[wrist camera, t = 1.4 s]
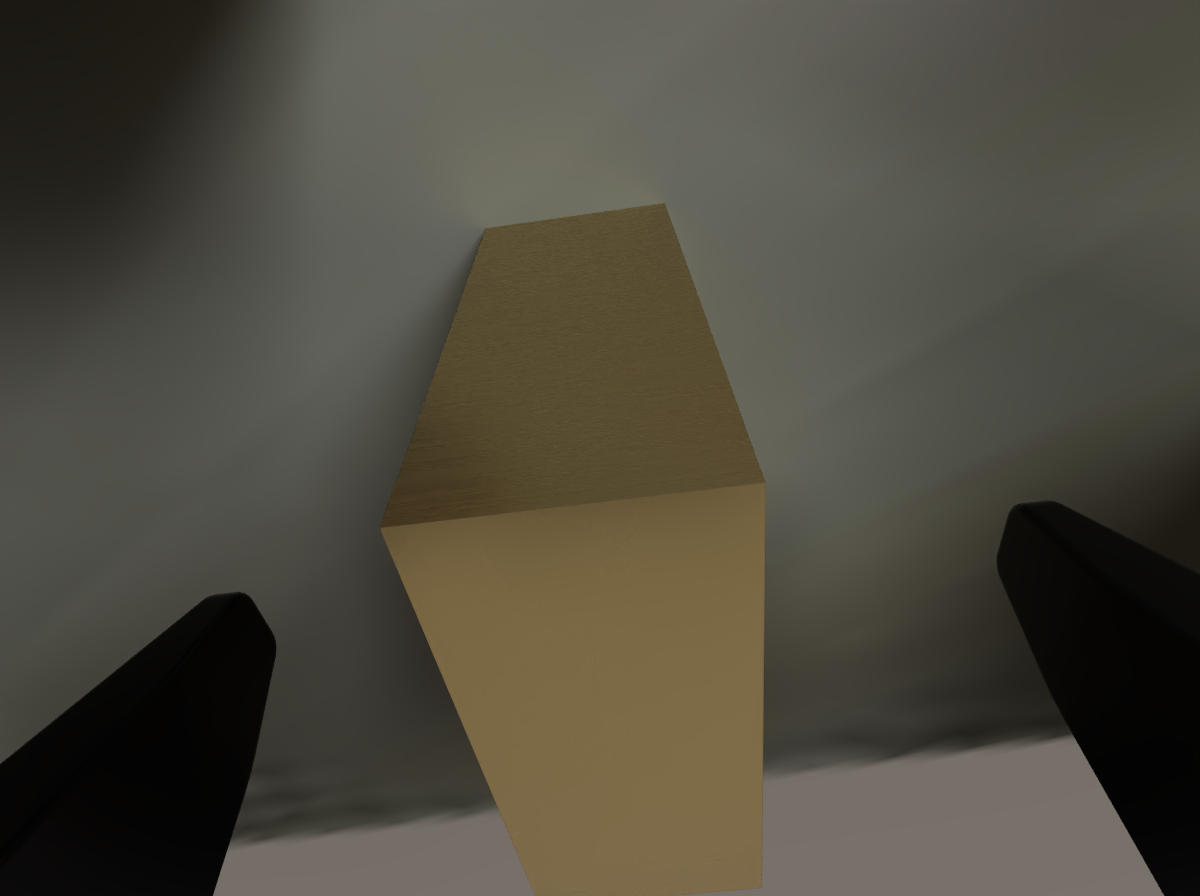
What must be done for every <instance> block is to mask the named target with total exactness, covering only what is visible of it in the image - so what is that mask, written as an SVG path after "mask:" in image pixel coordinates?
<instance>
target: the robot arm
mask: <svg viewBox="0 0 1200 896" xmlns="http://www.w3.org/2000/svg"><path fill="white" fill-rule="evenodd" d="M997 569H998V573H999V576H1000V579H1001V581H1002V584H1003V586H1004V588H1005V591H1006V593H1007V595H1008V598H1009V600H1010V602H1011V605H1012V607H1013V609H1014V612H1015V614H1016V616H1017V618H1018V621H1019V623H1020V625H1021V628H1022V630H1023V632H1024V635H1025V637H1026V639H1027V642H1028V644H1029V646H1030V649H1031V651H1032V653H1033V656H1034V658H1035V660H1036V663H1037V665H1038V667H1039V669H1040V672H1041V674H1042V676H1043V679H1044V681H1045V683H1046V685H1047V687H1048V689H1049V691H1050V694H1051V696H1052V698H1053V700H1054V702H1055V703H1056V705H1057V707H1058V709H1059V711H1060V713H1061V715H1062V716H1063V718H1064V720H1065V722H1066V724H1067V725H1068V727H1069V729H1070V731H1071V732H1072V734H1073V736H1074V738H1075V739H1076V741H1077V743H1078V745H1079V746H1080V748H1081V750H1082V752H1083V754H1084V755H1085V757H1086V759H1087V760H1088V762H1089V764H1090V766H1091V768H1092V769H1093V771H1094V773H1095V775H1096V776H1097V778H1098V780H1099V782H1100V783H1101V785H1102V787H1103V789H1104V790H1105V792H1106V794H1107V796H1108V798H1109V799H1110V801H1111V803H1112V805H1113V806H1114V808H1115V810H1116V811H1117V813H1118V815H1119V817H1120V819H1121V820H1122V822H1123V824H1124V826H1125V827H1126V829H1127V831H1128V833H1129V834H1130V836H1131V838H1132V840H1133V842H1134V843H1135V845H1136V847H1137V848H1138V850H1139V852H1140V854H1141V855H1142V857H1143V859H1144V861H1145V863H1146V864H1147V866H1148V868H1149V870H1150V871H1151V873H1152V875H1153V877H1154V879H1155V880H1156V882H1157V884H1158V886H1159V887H1160V889H1161V891H1162V893H1163V894H1164V896H1200V574H1199V573H1197V572H1195V571H1193V570H1191V569H1189V568H1187V567H1185V566H1183V565H1181V564H1179V563H1177V562H1175V561H1173V560H1171V559H1169V558H1167V557H1165V556H1163V555H1161V554H1159V553H1157V552H1155V551H1153V550H1151V549H1149V548H1147V547H1145V546H1143V545H1141V544H1139V543H1137V542H1135V541H1133V540H1131V539H1129V538H1127V537H1125V536H1123V535H1121V534H1119V533H1117V532H1115V531H1114V530H1112V529H1110V528H1108V527H1106V526H1104V525H1102V524H1100V523H1098V522H1096V521H1094V520H1092V519H1090V518H1088V517H1086V516H1084V515H1082V514H1080V513H1078V512H1076V511H1074V510H1072V509H1070V508H1068V507H1066V506H1064V505H1062V504H1060V503H1057V502H1054V501H1039V502H1030V503H1021V504H1018V505H1015V506H1014V507H1013V508H1012V509H1011V510H1010V512H1009V514H1008V517H1007V521H1006V524H1005V528H1004V532H1003V535H1002V539H1001V542H1000V546H999V550H998V553H997ZM275 657H276V641H275V637H274V635H273V632H272V631H271V629H270V628H269V626H268V624H267V623H266V621H265V619H264V618H263V616H262V615H261V613H260V611H259V610H258V608H257V606H256V605H255V603H254V602H253V600H252V599H251V597H250V596H248V595H247V594H245V593H242V592H234V593H225V594H216V595H212V596H209V597H207V598H205V599H204V600H203V601H201V602H200V603H199V604H198V605H196V606H195V607H194V608H193V609H191V610H190V611H189V612H188V613H187V614H185V615H184V616H183V617H182V618H180V619H179V620H178V621H177V622H175V623H174V624H173V625H172V626H170V627H169V628H168V629H167V630H165V631H164V632H163V633H162V634H161V635H159V636H158V637H157V638H156V639H154V640H153V641H152V642H151V643H149V644H148V645H147V646H146V647H144V648H143V649H142V650H141V651H139V652H138V653H137V654H136V655H135V656H133V657H132V658H131V659H130V660H128V661H127V662H126V663H125V664H123V665H122V666H121V667H120V668H118V669H117V670H116V671H115V672H113V673H112V674H111V675H110V676H108V677H107V678H106V679H105V680H104V681H102V682H101V683H100V684H99V685H97V686H96V687H95V688H94V689H92V690H91V691H90V692H89V693H87V694H86V695H85V696H84V697H82V698H81V699H80V700H79V701H78V702H76V703H75V704H74V705H73V706H71V707H70V708H69V709H68V710H66V711H65V712H64V713H63V714H61V715H60V716H59V717H58V718H56V719H55V720H54V721H53V722H52V723H50V724H49V725H48V726H47V727H45V728H44V729H43V730H42V731H40V732H39V733H38V734H37V735H35V736H34V737H33V738H32V739H30V740H29V741H28V742H27V743H26V744H24V745H23V746H22V747H21V748H19V749H18V750H17V751H16V752H14V753H13V754H12V755H11V756H9V757H8V758H7V759H6V760H4V761H3V762H2V763H1V764H0V896H213V894H214V890H215V887H216V884H217V881H218V877H219V875H220V871H221V868H222V865H223V862H224V859H225V856H226V852H227V849H228V846H229V843H230V840H231V837H232V833H233V830H234V827H235V824H236V821H237V818H238V815H239V811H240V808H241V805H242V802H243V799H244V795H245V792H246V789H247V785H248V782H249V778H250V775H251V771H252V766H253V762H254V758H255V754H256V749H257V744H258V739H259V734H260V730H261V725H262V720H263V715H264V710H265V705H266V701H267V696H268V691H269V686H270V681H271V676H272V671H273V667H274V662H275Z"/></svg>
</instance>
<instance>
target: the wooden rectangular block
mask: <svg viewBox="0 0 1200 896" xmlns="http://www.w3.org/2000/svg"><path fill="white" fill-rule="evenodd" d="M380 530H381V532H382V535H383V537H384V539H385V542H386V544H387V547H388V549H389V551H390V554H391V556H392V558H393V561H394V563H395V565H396V568H397V570H398V573H399V575H400V577H401V580H402V582H403V584H404V587H405V589H406V591H407V594H408V596H409V599H410V601H411V603H412V606H413V608H414V610H415V613H416V615H417V617H418V620H419V622H420V625H421V627H422V629H423V632H424V634H425V636H426V639H427V641H428V643H429V646H430V648H431V651H432V653H433V655H434V658H435V660H436V662H437V665H438V667H439V669H440V672H441V674H442V677H443V679H444V681H445V684H446V686H447V688H448V691H449V693H450V695H451V698H452V700H453V703H454V705H455V707H456V710H457V712H458V714H459V717H460V719H461V721H462V724H463V726H464V729H465V731H466V733H467V736H468V738H469V740H470V743H471V745H472V748H473V750H474V752H475V755H476V757H477V759H478V762H479V764H480V766H481V769H482V771H483V774H484V776H485V778H486V781H487V783H488V785H489V788H490V790H491V792H492V795H493V797H494V800H495V802H496V804H497V807H498V809H499V811H500V814H501V816H502V818H503V821H504V823H505V825H506V828H507V830H508V833H509V835H510V837H511V840H512V842H513V844H514V847H515V849H516V851H517V854H518V856H519V859H520V861H521V863H522V866H523V868H524V870H525V873H526V875H527V878H528V880H529V882H530V885H531V887H532V889H533V891H534V894H535V896H672V895H684V894H696V893H708V892H718V891H719V892H720V891H731V890H743V889H754V888H762V812H763V811H762V809H763V803H762V802H763V699H764V587H765V480H764V477H763V474H762V472H761V469H760V466H759V463H758V461H757V458H756V455H755V452H754V450H753V447H752V444H751V441H750V438H749V436H748V433H747V430H746V427H745V425H744V422H743V419H742V416H741V413H740V411H739V408H738V405H737V402H736V400H735V397H734V394H733V391H732V388H731V386H730V383H729V380H728V377H727V375H726V372H725V369H724V366H723V363H722V361H721V358H720V355H719V352H718V350H717V347H716V344H715V341H714V338H713V336H712V333H711V330H710V327H709V325H708V322H707V319H706V316H705V314H704V311H703V308H702V305H701V302H700V300H699V297H698V294H697V291H696V289H695V286H694V283H693V280H692V277H691V275H690V272H689V269H688V266H687V264H686V261H685V258H684V255H683V252H682V250H681V247H680V244H679V241H678V239H677V236H676V233H675V230H674V227H673V225H672V222H671V219H670V216H669V214H668V211H667V208H666V205H665V203H662V204H655V205H648V206H641V207H634V208H627V209H620V210H612V211H605V212H598V213H591V214H584V215H577V216H570V217H563V218H556V219H549V220H542V221H535V222H528V223H520V224H513V225H506V226H499V227H492V228H486V229H485V232H484V235H483V238H482V240H481V243H480V246H479V249H478V252H477V255H476V257H475V260H474V263H473V266H472V269H471V272H470V274H469V277H468V280H467V283H466V286H465V288H464V291H463V294H462V297H461V300H460V303H459V305H458V308H457V311H456V314H455V317H454V320H453V322H452V325H451V328H450V331H449V334H448V337H447V339H446V342H445V345H444V348H443V351H442V354H441V356H440V359H439V362H438V365H437V368H436V370H435V373H434V376H433V379H432V382H431V385H430V387H429V390H428V393H427V396H426V399H425V402H424V404H423V407H422V410H421V413H420V416H419V419H418V421H417V424H416V427H415V430H414V433H413V436H412V438H411V441H410V444H409V447H408V450H407V452H406V455H405V458H404V461H403V464H402V467H401V469H400V472H399V475H398V478H397V481H396V484H395V486H394V489H393V492H392V495H391V498H390V501H389V503H388V506H387V509H386V512H385V515H384V518H383V520H382V523H381V526H380Z"/></svg>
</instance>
